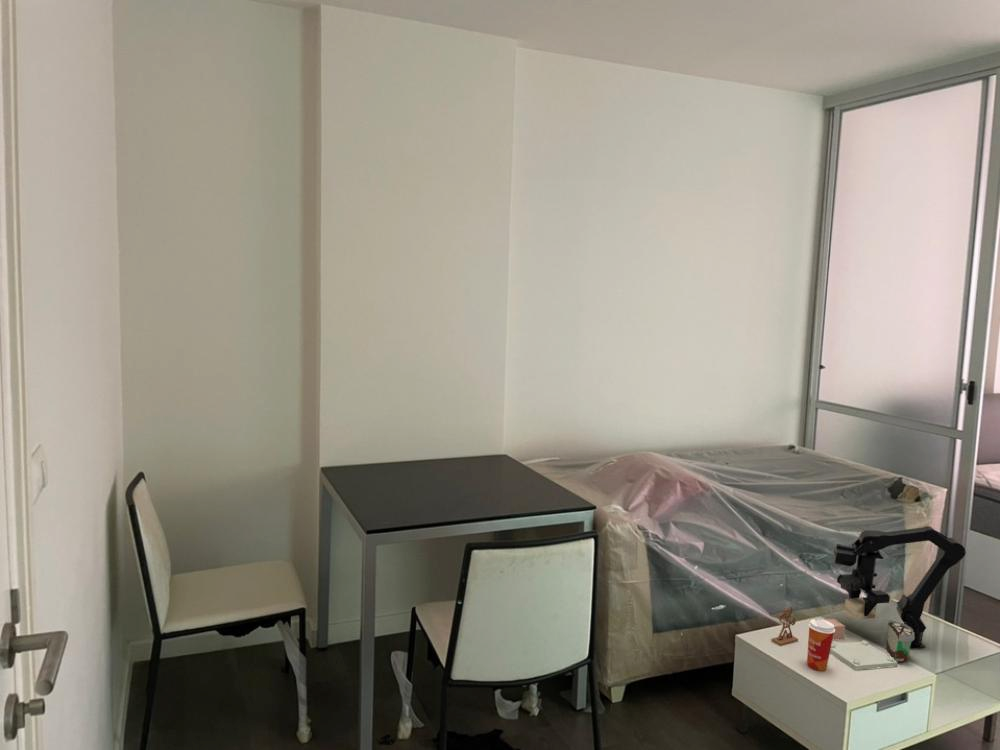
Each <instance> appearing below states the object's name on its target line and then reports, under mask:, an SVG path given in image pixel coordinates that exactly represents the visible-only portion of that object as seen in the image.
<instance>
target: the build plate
mask: <svg viewBox="0 0 1000 750" xmlns="http://www.w3.org/2000/svg"><path fill="white" fill-rule="evenodd" d="M830 654H831V655H832V656H833V657H835V658H836V657H837V658H836V659H838V660H840V661H841V662H842V663H843V664H845V665H846V666H848V667H849V666H850V667H849V668H851V669H853V670H854V671H864V670H863V669H867V670H873V669H872V668H877V667H889V666H890V667H889V668H892V667H891V666H897V667H898V664H899V663H898V662H897V661H895V660H894V658H893V657H890V656H889V655H887V654H885V653H884V652H883V651H880V650H879V649H878V648H876V647H874V646H873V645H871V644H870V643H869V641H867V640H865V639H864V640H861V641H858V642H846V643H845V642H844V643H842V642H841V643H833V642H832V644H831V649H830ZM870 668H871V669H870Z"/></svg>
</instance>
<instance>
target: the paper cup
mask: <svg viewBox="0 0 1000 750" xmlns="http://www.w3.org/2000/svg"><path fill="white" fill-rule="evenodd" d="M834 632H835V629H834V625H833V624H832V623H830V622H828V621H825V620H823V619H811V620H810V621H809V623H808V642H807V656H806V657H807V659H806V665H807V667H808V668H810V669H812V670H813V671H817V672H825V671H826V670H827V667H828V664H829V659H830V654H831V653H830V649H831V644H832V643H833V640H832V639H833V634H834Z"/></svg>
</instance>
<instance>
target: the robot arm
mask: <svg viewBox="0 0 1000 750" xmlns="http://www.w3.org/2000/svg"><path fill="white" fill-rule="evenodd" d="M920 542H931V543H932V544H933V545H935V546H936V547H938V548H937V554H936V556H935V559H934V561H933V563H932V565H930V567H929V568H928V570H927V571H926V573H925V575H923V577H922V579H921V580H920V582H919V583H918V584H917V586H916V587H915V589H914V590H913V591H912V593H911V594H909V595H905V593H904V594H902V595H901V597H900V599H899V600H898V601H897V602H896V605H897V606H896V612H897V614H898V616H899V617H900V619H901V621H902V622H903V624H905V625H907V626H909V627H910V628H912V629H913V632H914V637H915V639H914V640H913V641H912V642H911V646H910V649H918V648H919V649H920V648H926V645H925V644H923V638H924V637H923V636H924V632H925V631H926V629H927V627H926V625H925V623H924V622H923V619H922V618H921V617H922V615H923V611H924V608H925V604H926V602H927V600H928V599H929V597H930V596H931V594H932V593H933V592H934V591H935V589H936V588H937V586H938V585H939V583H940V581H941V580H942V579H943V577H945V574H947V572H948V571H949V569H950V568H952V567H954V566H956V565H957V564H958V563H959V562H961V560H963V558H964V557H965V556H966V548H965V547H964V546H963V545H962V543H961V542H960V541H959V540H958V539H956V538H955V537H948V536H946V535H945V534H943V533H942V532H939V531H937V530H936V529H934V527H932V526H928V525H927V526H923V527H914V528H907V529H901V530H900V529H899V530H894V531H893V530H892V531H881V530H870V529H868V530H863V531H861V533H859V535H858V539H856V540H855V541H854V542H853V543H852V544H851V546H850V545H844V544H840V543H836V544H835V548H834V551H833V553H832V562H833V564H834V565H839V566H845V567H852V566H855V565H856V566H855V568H853V569H852V570H851V573H849V574H848V573H847V574H846V573H845V574H844V573H843V574H839V575H838V576H837V580H836V583H838V584H840V585H839V586H840V588H841V590H845V591H846V592H847V594H848V597H849V598H860V596H861V593H862V592H863V593H865V594H866V597H865V596H864V597H862V598H863V599H864V601H865V608H864V616H868V615H869V613H870V612H871V611H872V609H873V608H874V607H875V606H876V607H877V605H878V604H890V599H891V596H890V595H889V594H888V593H887V592H885V591H882V590H881V589H879V590H873V589H876V584H874V578H877V576H878V573H877V572H875V571H876V565H877V559H879V560H883V559H884V556H883V554H882V553H880V551H881V550H884V549H887V548H888V547H890V546H895V545H902V544H903V545H905V544H911V543H912V544H913V543H920Z"/></svg>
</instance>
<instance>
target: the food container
mask: <svg viewBox="0 0 1000 750" xmlns="http://www.w3.org/2000/svg"><path fill="white" fill-rule="evenodd" d="M886 634H887V635H886V644H885V650H887V651H886V652H888V653H889V654H890V656H891V657H893V658H894V660H895V661H897V662H898V664H905V662H906V663H907V662H908V657H909V655H910V650H911V648H910V646H911V642H912V641H913V640H914V639H915V637H914V632H913V629H912V628H910V627H909V626H907V625H905V624H904V622H903V623H902V622H899V621H896V620H892V619H888V621H887V633H886ZM888 653H887V654H888ZM889 654H888V655H889Z"/></svg>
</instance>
